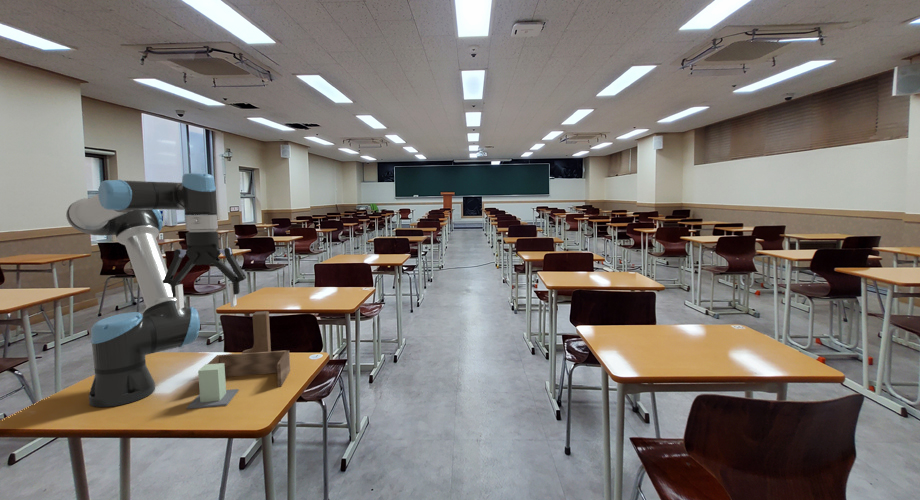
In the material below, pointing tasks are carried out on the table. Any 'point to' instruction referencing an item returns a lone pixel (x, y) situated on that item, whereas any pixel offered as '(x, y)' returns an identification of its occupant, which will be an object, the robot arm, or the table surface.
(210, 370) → the block
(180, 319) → the robot arm
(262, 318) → the wooden block
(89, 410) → the table surface
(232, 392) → the mat
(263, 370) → the cubby
